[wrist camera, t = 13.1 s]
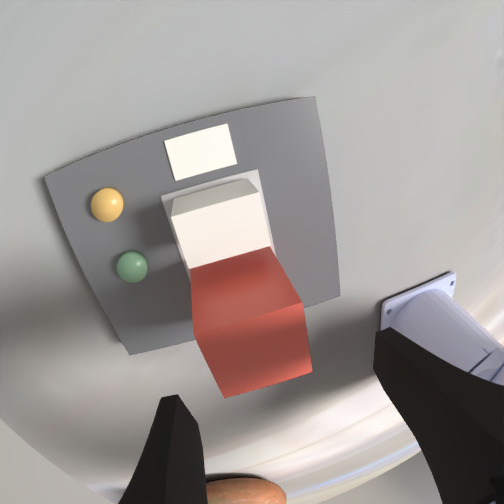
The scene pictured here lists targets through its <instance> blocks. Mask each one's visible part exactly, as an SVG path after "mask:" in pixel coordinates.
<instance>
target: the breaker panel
mask: <svg viewBox="0 0 504 504" xmlns="http://www.w3.org/2000/svg"><path fill="white" fill-rule="evenodd" d="M44 178H45V181H46V184H47V187H48V189H49V192H50V195H51V198H52V200H53V203H54V206H55V208H56V211H57V213H58V216H59V219H60V221H61V223H62V226H63V228H64V231H65V233H66V235H67V238H68V240H69V242H70V245H71V247H72V249H73V251H74V253H75V256H76V258H77V260H78V262H79V264H80V266H81V268H82V270H83V273H84V275H85V277H86V279H87V281H88V283H89V285H90V287H91V289H92V290H93V292H94V294H95V296H96V298H97V300H98V302H99V304H100V306H101V307H102V309H103V311H104V313H105V315H106V316H107V318H108V320H109V322H110V323H111V325H112V327H113V329H114V330H115V332H116V334H117V335H118V337H119V339H120V340H121V342H122V344H123V345H124V347H125V349H126V350H127V352H128V353H129V355H133V354H138V353H142V352H147V351H151V350H156V349H160V348H164V347H168V346H172V345H176V344H180V343H184V342H188V341H192V340H196V339H195V337H194V334H193V319H192V299H191V275H190V269H189V268H188V266H187V263H186V260H185V257H184V254H183V252H182V249H181V246H180V243H179V240H178V237H177V234H176V231H175V228H174V225H173V222H172V219H171V213H172V207H173V201H174V199H175V198H178V197H181V196H185V195H188V194H191V193H195V192H198V191H202V190H205V189H209V188H212V187H216V186H220V185H223V184H227V183H231V182H235V181H238V180H242V179H246V178H248V179H249V180H250V182H251V183H252V184H253V185H254V186H255V187H256V188H257V190H258V191H259V192H260V196H261V200H262V205H263V210H264V214H265V219H266V224H267V228H268V233H269V238H270V243H271V246H270V248H271V249H272V251H273V253H274V254H275V256H276V258H277V259H278V261H279V263H280V265H281V266H282V268H283V270H284V271H285V273H286V275H287V277H288V278H289V280H290V282H291V283H292V285H293V287H294V289H295V290H296V292H297V294H298V296H299V297H300V299H301V301H302V303H303V308H306V307H309V306H312V305H315V304H318V303H321V302H324V301H327V300H330V299H333V298H336V297H339V296H340V282H339V268H338V256H337V245H336V235H335V225H334V216H333V207H332V199H331V191H330V184H329V176H328V169H327V162H326V156H325V149H324V143H323V137H322V131H321V125H320V120H319V114H318V109H317V104H316V98H315V97H304V98H298V99H291V100H285V101H280V102H274V103H269V104H263V105H258V106H253V107H248V108H244V109H239V110H235V111H230V112H226V113H222V114H218V115H214V116H210V117H206V118H202V119H198V120H195V121H191V122H187V123H184V124H180V125H177V126H174V127H170V128H167V129H164V130H161V131H157V132H154V133H151V134H148V135H145V136H142V137H139V138H136V139H133V140H131V141H128V142H125V143H122V144H119V145H117V146H114V147H111V148H109V149H106V150H104V151H101V152H98V153H96V154H93V155H91V156H89V157H86V158H84V159H81V160H79V161H77V162H74V163H72V164H70V165H67V166H65V167H63V168H61V169H59V170H56V171H54V172H52V173H50V174H49V175H47V176H45V177H44Z"/></svg>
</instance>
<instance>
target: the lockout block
mask: <svg viewBox="0 0 504 504" xmlns="http://www.w3.org/2000/svg"><path fill="white" fill-rule="evenodd" d="M190 275H191V299H192V319H193V334H194V337H195V339H196V341H197V343H198V345H199V347H200V349H201V352H202V354H203V356H204V358H205V360H206V362H207V364H208V366H209V368H210V370H211V372H212V374H213V376H214V378H215V380H216V382H217V384H218V386H219V388H220V390H221V392H222V394H223V396H224V398H226V397H230V396H234V395H238V394H242V393H246V392H249V391H253V390H256V389H260V388H263V387H267V386H270V385H273V384H277V383H280V382H283V381H286V380H289V379H293V378H296V377H299V376H302V375H305V374H308V373H310V372H312V365H311V357H310V350H309V343H308V336H307V329H306V323H305V316H304V310H303V303H302V301H301V299H300V297H299V296H298V294H297V292H296V290H295V289H294V287H293V285H292V283H291V282H290V280H289V278H288V277H287V275H286V273H285V271H284V270H283V268H282V266H281V265H280V263H279V261H278V259H277V258H276V256H275V254H274V253H273V251H272V249H271V248H270V246H268V247H265V248H261V249H258V250H254V251H251V252H247V253H244V254H240V255H237V256H233V257H229V258H226V259H222V260H219V261H215V262H212V263H208V264H205V265H201V266H198V267H194V268H191V269H190Z"/></svg>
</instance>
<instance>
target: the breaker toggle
mask: <svg viewBox="0 0 504 504" xmlns="http://www.w3.org/2000/svg"><path fill="white" fill-rule="evenodd" d="M171 219H172V222H173V225H174V228H175V231H176V234H177V237H178V240H179V243H180V246H181V249H182V252H183V254H184V257H185V260H186V263H187V266H188V268H189V269H191V268H194V267H198V266H201V265H205V264H208V263H212V262H215V261H219V260H222V259H226V258H229V257H233V256H237V255H240V254H244V253H247V252H251V251H254V250H258V249H261V248H265V247H268V246H271V243H270V238H269V233H268V228H267V224H266V219H265V214H264V210H263V205H262V200H261V196H260V192H259V191H258V190H257V188H256V187H255V186H254V185H253V184H252V183H251V182H250V180H249V179H248V178H246V179H242V180H238V181H235V182H231V183H227V184H223V185H220V186H216V187H212V188H209V189H205V190H202V191H198V192H195V193H191V194H188V195H185V196H181V197H178V198H175V199H174V201H173V207H172V213H171Z"/></svg>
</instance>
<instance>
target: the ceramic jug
mask: <svg viewBox="0 0 504 504" xmlns="http://www.w3.org/2000/svg"><path fill="white" fill-rule="evenodd" d="M206 491H207V500H208V504H286V494H285V492H284V491H283V489H282V488H281V487H280V486H278V485H277V484H275V483H273V482H270V481H267V480H262V479H255V478H231V479H223V480H217V481H212V482H208V483H206Z"/></svg>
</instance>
